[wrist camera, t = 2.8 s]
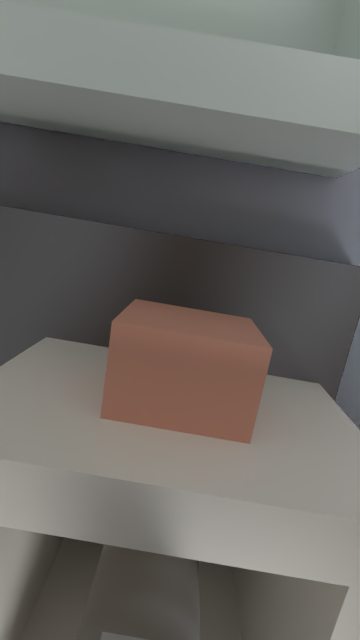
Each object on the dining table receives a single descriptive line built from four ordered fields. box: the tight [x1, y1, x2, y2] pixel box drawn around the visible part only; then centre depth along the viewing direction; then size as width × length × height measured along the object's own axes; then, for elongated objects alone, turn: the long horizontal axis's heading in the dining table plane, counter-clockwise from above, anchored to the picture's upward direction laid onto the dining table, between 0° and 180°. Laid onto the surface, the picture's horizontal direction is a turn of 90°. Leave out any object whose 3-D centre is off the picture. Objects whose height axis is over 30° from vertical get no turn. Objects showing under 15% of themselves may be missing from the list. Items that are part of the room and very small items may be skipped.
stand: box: [0, 206, 360, 640], centre depth 6 cm, size 10×10×7 cm
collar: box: [0, 299, 360, 640], centre depth 7 cm, size 7×9×4 cm
